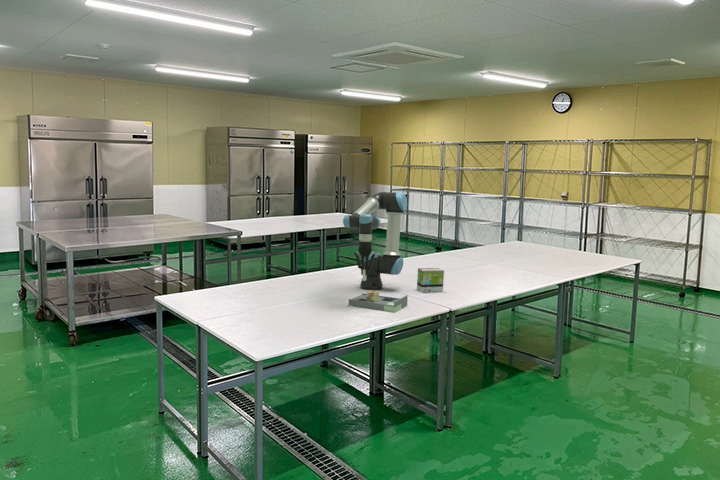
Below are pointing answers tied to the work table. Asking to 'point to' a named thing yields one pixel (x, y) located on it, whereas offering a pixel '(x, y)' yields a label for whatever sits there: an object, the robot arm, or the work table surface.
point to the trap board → (380, 303)
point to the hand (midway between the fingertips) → (364, 280)
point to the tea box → (430, 279)
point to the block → (372, 296)
